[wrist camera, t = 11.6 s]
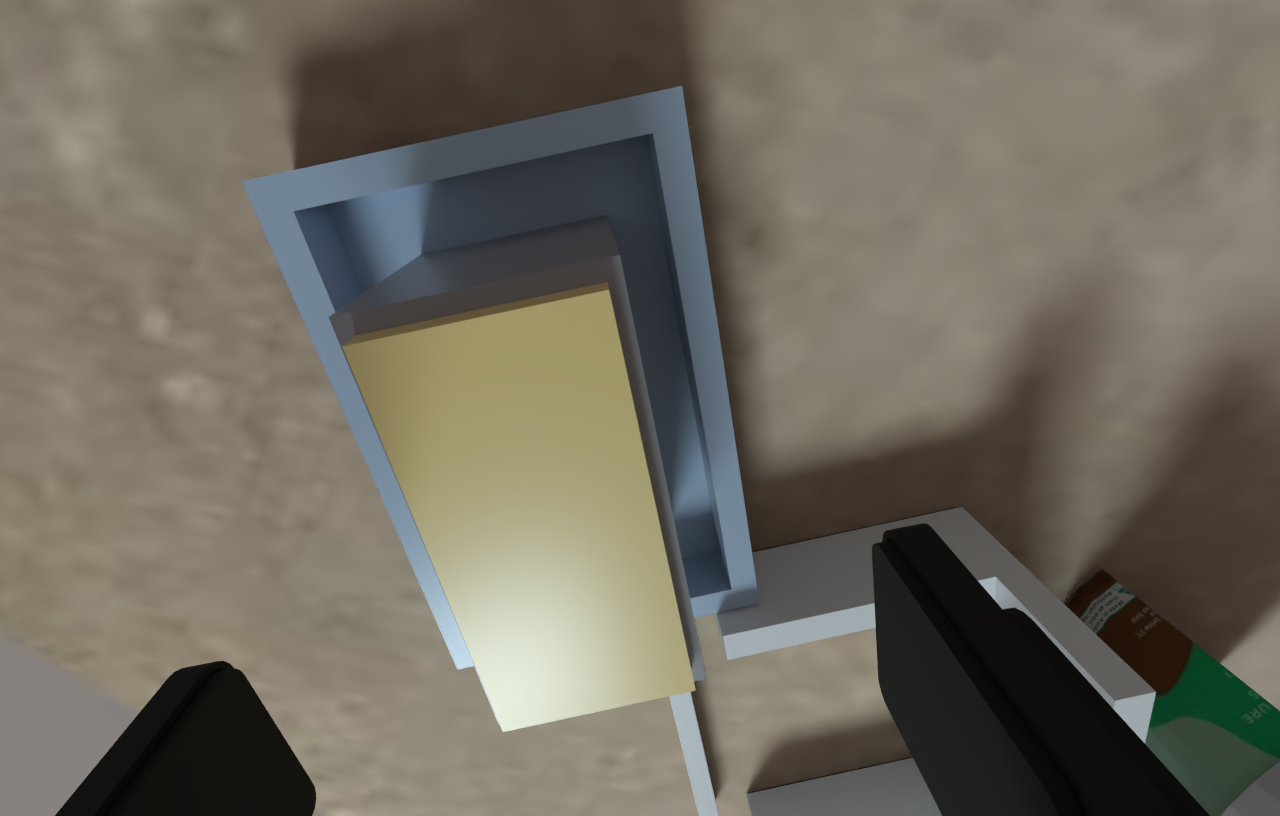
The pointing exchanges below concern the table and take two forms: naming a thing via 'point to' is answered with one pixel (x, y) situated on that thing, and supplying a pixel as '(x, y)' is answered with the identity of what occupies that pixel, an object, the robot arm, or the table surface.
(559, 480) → the yellow-topped block
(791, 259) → the table surface
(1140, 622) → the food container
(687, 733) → the bay
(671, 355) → the tray
